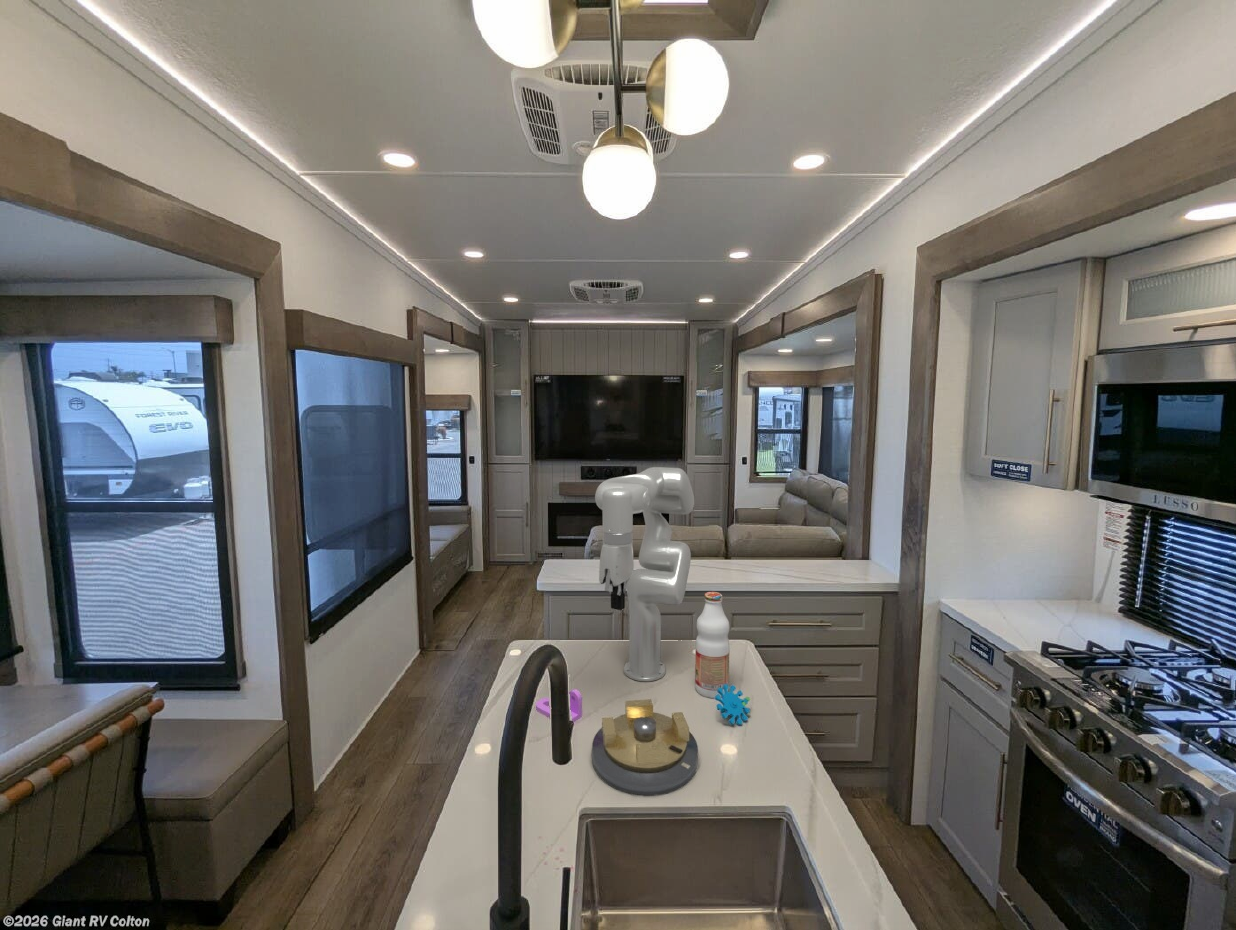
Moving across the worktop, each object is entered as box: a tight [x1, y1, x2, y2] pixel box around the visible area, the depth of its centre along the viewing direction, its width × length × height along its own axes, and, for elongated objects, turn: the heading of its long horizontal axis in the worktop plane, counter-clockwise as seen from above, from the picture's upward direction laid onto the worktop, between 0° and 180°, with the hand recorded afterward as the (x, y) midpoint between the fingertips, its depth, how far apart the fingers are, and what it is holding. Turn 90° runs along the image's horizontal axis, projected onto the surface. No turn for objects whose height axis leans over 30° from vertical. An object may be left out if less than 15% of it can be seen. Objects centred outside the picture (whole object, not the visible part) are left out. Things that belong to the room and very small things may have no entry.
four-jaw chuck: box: [601, 698, 690, 773], centre depth 119 cm, size 19×19×5 cm
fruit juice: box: [694, 591, 731, 699], centre depth 146 cm, size 9×9×28 cm
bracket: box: [535, 688, 583, 724], centre depth 137 cm, size 13×6×7 cm, turn 52°
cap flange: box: [591, 727, 699, 797], centre depth 119 cm, size 24×24×3 cm
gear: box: [714, 684, 751, 726], centre depth 136 cm, size 11×6×10 cm
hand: (617, 608), depth 132 cm, fingers closed
